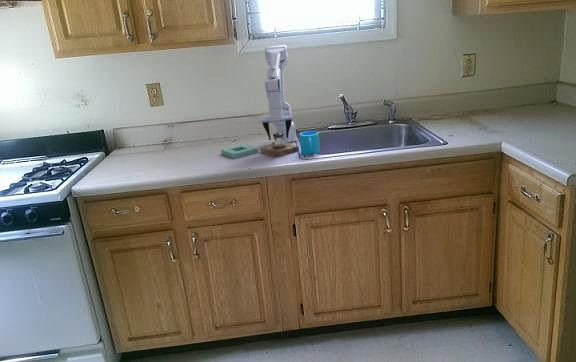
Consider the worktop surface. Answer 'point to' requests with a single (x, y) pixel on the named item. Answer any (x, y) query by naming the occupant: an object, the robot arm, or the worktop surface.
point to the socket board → (239, 151)
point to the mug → (309, 142)
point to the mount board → (279, 150)
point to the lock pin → (278, 140)
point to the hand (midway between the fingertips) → (278, 138)
